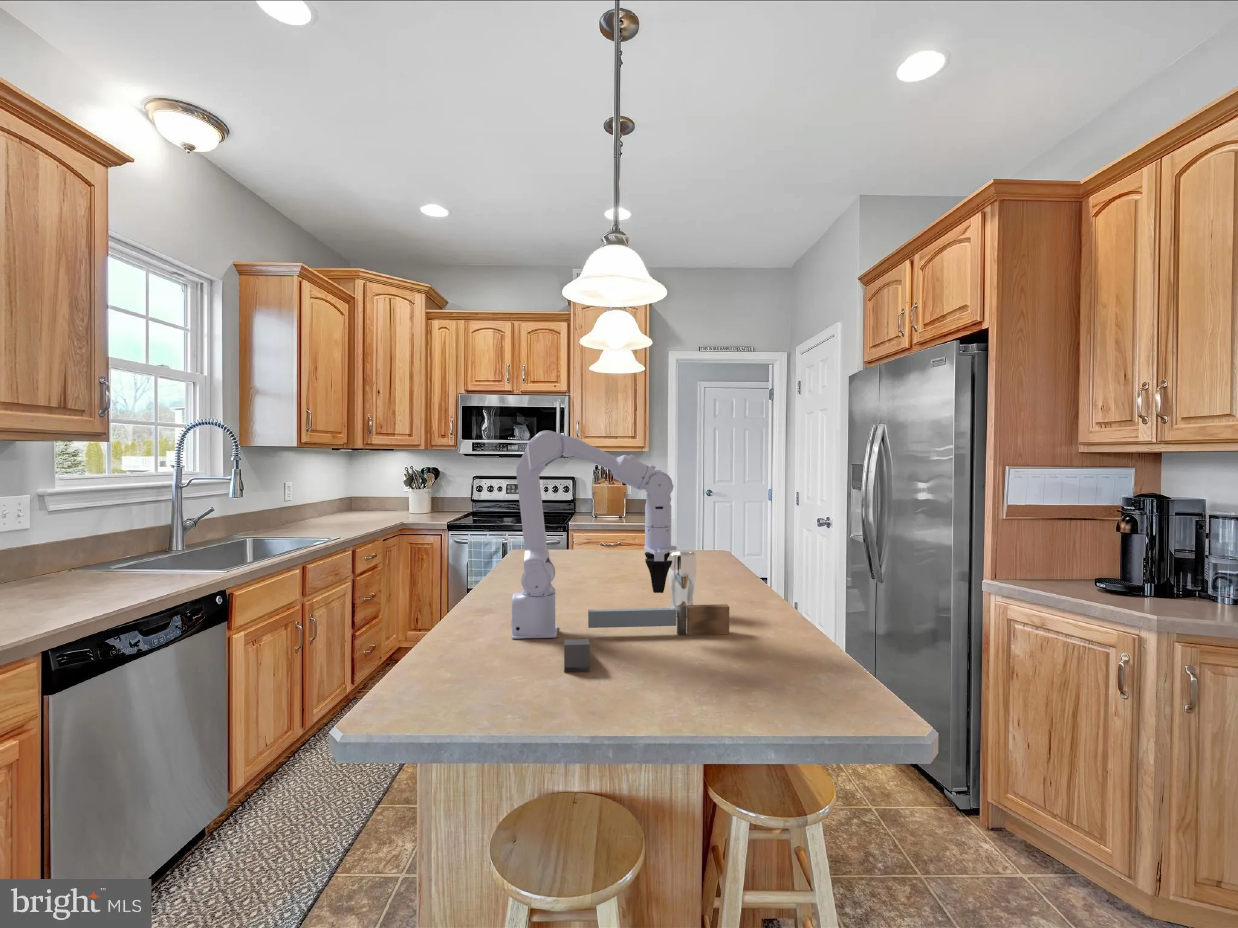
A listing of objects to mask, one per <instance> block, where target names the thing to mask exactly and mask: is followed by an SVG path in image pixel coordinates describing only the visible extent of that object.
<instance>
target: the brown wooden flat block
mask: <svg viewBox="0 0 1238 928" xmlns="http://www.w3.org/2000/svg"><path fill="white" fill-rule="evenodd" d="M676 634H677V636H686V635H688V636H702V635H703V636H706V635H707V636H708V635H711V636H712V635H730V606H729V605H728V604H727V603H725V604H724V603H721V604H693V605H687V618H686V606H684V605H678V606H677V617H676Z"/></svg>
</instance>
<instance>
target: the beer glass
mask: <svg viewBox="0 0 1238 928" xmlns="http://www.w3.org/2000/svg"><path fill="white" fill-rule="evenodd" d="M696 556H697V555H696V552H694V551H688V550H672V551H670V555H669V557H668V559H667V560H672V564H671V566H670V568H669V571H668V574H667V580H668V587H669V592H670V605H669V606H670V607H669V608H676V618H677V606H678V605H684V606H686V619H687V605H694V602H693V600H694V592H695V587H696V586H695V585H696V581H697V580H696V579H697V558H696Z"/></svg>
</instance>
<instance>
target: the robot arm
mask: <svg viewBox="0 0 1238 928" xmlns="http://www.w3.org/2000/svg"><path fill="white" fill-rule="evenodd" d="M561 457H565V458H566V457H579V458H582V459H584V460H586V461H588V462H590V463H592V464H596V465H597V466H600V467H602V468H605V469H607V470H610V471H611V474H612V477H613V479H614V480H616V481H619V482H621V483H623V484H625V485H627V486H630V487H631V488H633V489H636V490H638V491H642V490H645V492H646V496H645V500H646V501H645V506H644V508H645V509H644V510H645V511H644V546H643V550H644V551H645V552H644V556H645V559H644V560H645V561H644V562H645V565H646V566H647V568H648V571H649V576H650V581H651V588H652V592H653V593H654V594H663V593H664V592H665V588H666V582H667V578H668V571H669V568H670V566H671V564H672V560H668V557H669V555H670V552H672V551H678V550H677V546H676V545H672V504H671V502H672V497H671V496H672V495H671V494H672V492H673V490H674V487H675V486H674V484H673V480H672V478H671V477H670V475H669V474H667V473H665V471H662V470H661V469H657V468H656V466H655V465H653V464H651V465H648V464H647V463H644V462H641V461H639V460H637V459H636V458H637V457H636V456H635V455H633V454H630V455H627V454H624V455H621V456H618V457H616V456H614V455H612V454H610V453H608V452H606V451H603V450H601V449H600V448H599V447H598V448H597V447H596V446H594V445H592V444H589V443H588V442H585V441H583V440H581V439H579V438H576V437H572V436H568V435H566V434H560V433H559V432H555V431H553V430H545V429H544V430H542V431H539V432H538V433H537V434H535V435H534V436H533V437H532V438H531V439H530V440H529V441H528V442H527V444H526V447H525V449H524V452H523V453H522V456H521V458H520V460H519V462H518V463H517V466H516V471H515V472H516V474H515V475H516V483H517V491H518V499H519V500H518V501H519V509H520V517H521V526H522V527H521V528H522V537H523V545H524V555H523V567H524V568H523V572H522V575H521V579H520V582H521V586H522V591H521V592H514V593H513V594H512V598H511V599H512V601H511V621H510V622H511V623H510V625H511V639H516V640H517V639H550V638H551V639H553V638H557V637H558V628H559V627H558V624H556V589H555V587H554V586H553V584H552V582H553V580H554V579H555V576H556V567H555V565H554V563H553V562H552V561H551V557H550V552H549V549H548V544H547V536H546V535H547V534H546V527H545V517H544V508H543V507H544V506H543V499H542V490H541V488H542V487H541V482H540V475H541V474H542V472H543V471H544V470H545V469H546V468H547V467H548V466H549V465H550V464H551V463H553V462H554V461H556V460H557V459H559V458H561Z"/></svg>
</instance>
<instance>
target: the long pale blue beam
mask: <svg viewBox="0 0 1238 928" xmlns="http://www.w3.org/2000/svg"><path fill="white" fill-rule="evenodd" d="M587 611H588V612H587V617H588V618H587V620H588V621H587V626H588V627H587V628H588V629H601V628H602V629H603V628H604V629H606V628H607V629H608V628H640V627H643V628H644V627H645V628H646V627H648V628H649V627H677V617H676V608H670V607H657V608H656V607H655V608H654V607H653V608H652V607H651V608H608V609H587Z"/></svg>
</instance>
